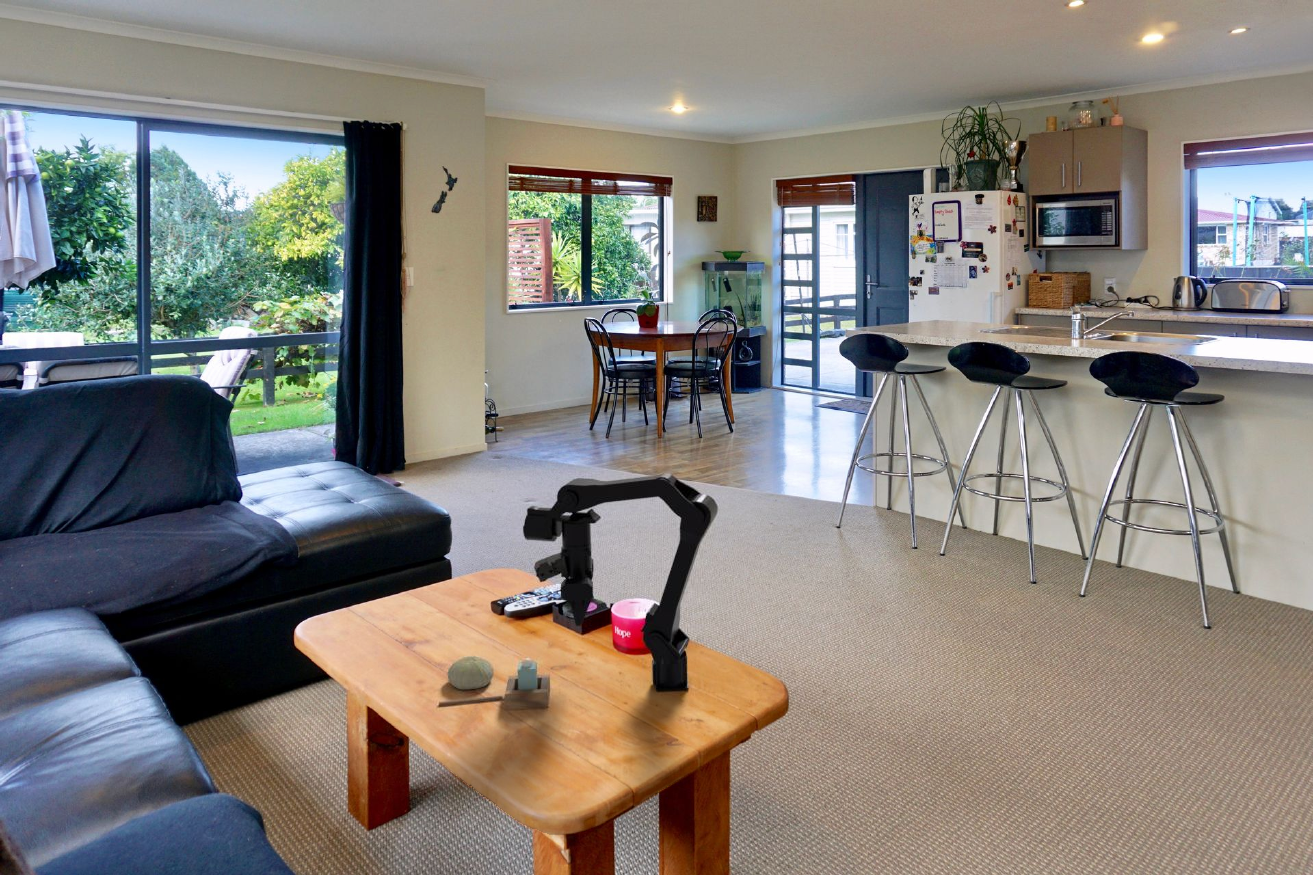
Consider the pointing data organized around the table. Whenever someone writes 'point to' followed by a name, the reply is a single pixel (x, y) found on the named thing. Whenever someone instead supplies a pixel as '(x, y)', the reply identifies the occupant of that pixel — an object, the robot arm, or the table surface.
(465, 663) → the sea urchin shell
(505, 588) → the table surface
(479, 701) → the brown wooden rod
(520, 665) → the teal rectangular block
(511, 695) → the wooden socket block
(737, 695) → the table surface
